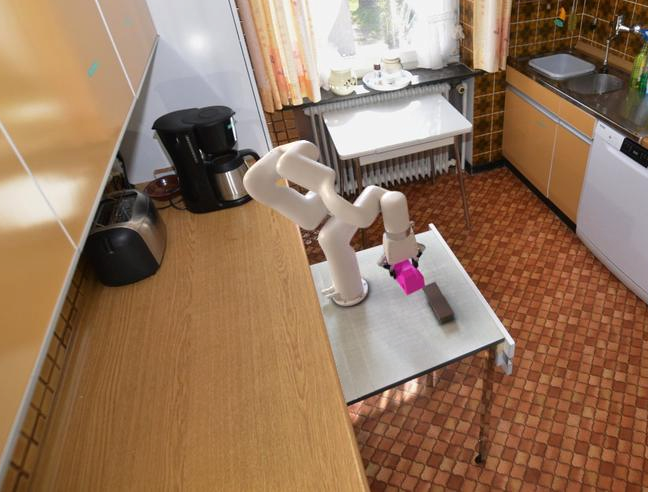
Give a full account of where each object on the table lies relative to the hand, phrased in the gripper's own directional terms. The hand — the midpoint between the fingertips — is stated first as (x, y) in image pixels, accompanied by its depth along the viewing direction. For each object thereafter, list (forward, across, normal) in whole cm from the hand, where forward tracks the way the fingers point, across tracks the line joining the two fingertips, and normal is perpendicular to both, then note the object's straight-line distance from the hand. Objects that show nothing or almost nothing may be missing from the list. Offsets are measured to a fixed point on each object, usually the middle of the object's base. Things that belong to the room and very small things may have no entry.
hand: (404, 272), depth 140 cm
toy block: (+2, 0, 0) cm, 2 cm away
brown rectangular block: (+16, -9, +4) cm, 18 cm away
